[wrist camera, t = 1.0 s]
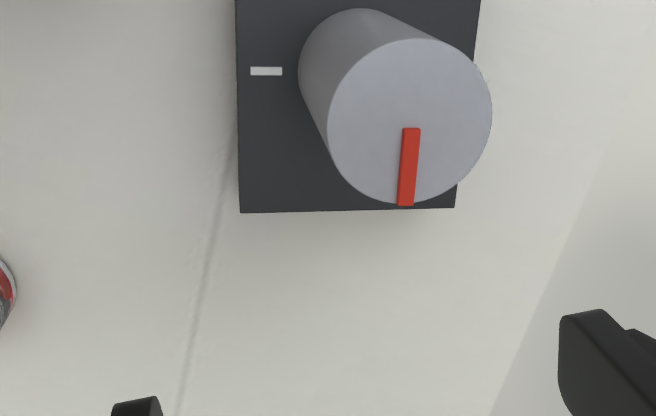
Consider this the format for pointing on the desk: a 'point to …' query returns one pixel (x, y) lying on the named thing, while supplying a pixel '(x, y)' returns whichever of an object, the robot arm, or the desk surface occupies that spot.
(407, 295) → the desk surface
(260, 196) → the dark grey panel
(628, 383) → the robot arm
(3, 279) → the pill bottle
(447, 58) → the grey round cylinder
